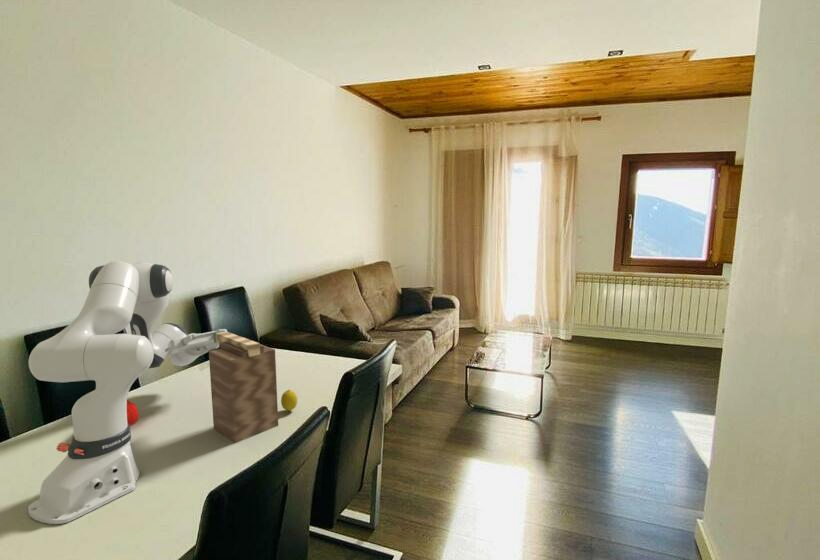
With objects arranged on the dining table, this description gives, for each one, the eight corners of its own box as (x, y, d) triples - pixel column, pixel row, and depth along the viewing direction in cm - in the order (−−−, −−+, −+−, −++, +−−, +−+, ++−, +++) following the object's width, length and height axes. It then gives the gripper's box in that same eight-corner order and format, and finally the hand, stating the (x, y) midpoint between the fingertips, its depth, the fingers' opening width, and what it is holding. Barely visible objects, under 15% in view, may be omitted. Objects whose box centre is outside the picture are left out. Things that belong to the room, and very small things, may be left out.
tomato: (78, 439, 132) (75, 412, 131) (108, 420, 144) (106, 396, 143) (121, 440, 131) (119, 413, 130) (148, 421, 144) (146, 396, 143)
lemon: (293, 415, 149) (292, 393, 148) (278, 413, 150) (277, 392, 149) (300, 408, 154) (299, 387, 153) (286, 407, 155) (285, 386, 154)
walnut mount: (234, 443, 130) (229, 354, 126) (213, 428, 139) (208, 345, 135) (278, 425, 141) (274, 343, 137) (256, 413, 150) (252, 335, 147)
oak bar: (260, 354, 133) (259, 343, 132) (249, 356, 130) (249, 345, 130) (223, 340, 148) (223, 330, 148) (213, 342, 146) (213, 332, 145)
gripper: (161, 344, 154) (172, 331, 145) (217, 332, 169) (230, 320, 160) (165, 360, 152) (177, 349, 144) (221, 347, 168) (236, 336, 159)
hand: (206, 333), depth 152 cm, fingers open, 8 cm apart
